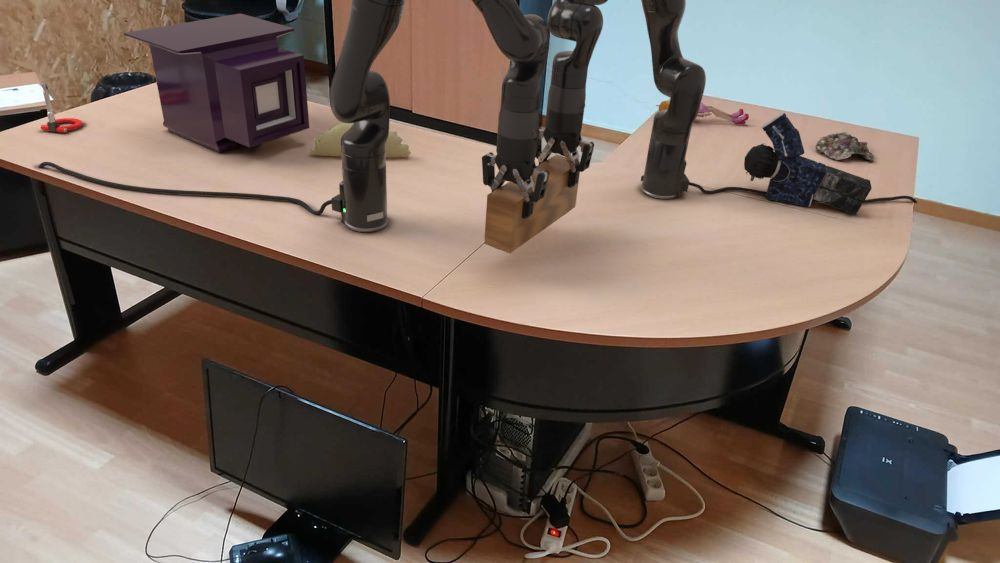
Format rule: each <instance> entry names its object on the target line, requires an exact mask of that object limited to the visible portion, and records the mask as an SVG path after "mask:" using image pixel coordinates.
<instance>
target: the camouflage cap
mask: <svg viewBox="0 0 1000 563" xmlns="http://www.w3.org/2000/svg"><path fill="white" fill-rule="evenodd" d="M815 150H816V151H817V152H818V153H824V155H825V156H827V157H828V158H830V159H832V160H835V161H839V160H840V161H841V160H844V159H848V158H851V157H852V155H853V154H854V155H857V154H859V155H860V156H861V158H863V159H865V160H866V161H871V162H874V160H875V159H874V158H875V155H874V154H873V153H872V152H871V151H870V149H869V147H868V142H867V141H859V139H858V137H855V136H853V135H852V134H851V133H849V132H848V131H846V132H844V131H843V132H836V133H830V134H827V135H826V136H822V137H820V138H819V140H818V141H817V142H816V144H815ZM873 157H874V158H873Z"/></svg>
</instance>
